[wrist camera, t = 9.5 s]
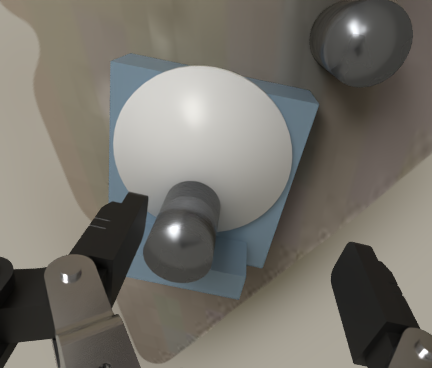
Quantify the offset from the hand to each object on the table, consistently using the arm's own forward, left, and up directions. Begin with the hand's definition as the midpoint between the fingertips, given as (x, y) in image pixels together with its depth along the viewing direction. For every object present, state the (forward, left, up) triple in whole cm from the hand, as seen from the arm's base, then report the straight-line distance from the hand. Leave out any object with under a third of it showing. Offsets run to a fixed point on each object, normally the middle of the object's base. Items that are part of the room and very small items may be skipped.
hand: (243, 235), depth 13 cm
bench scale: (+4, -3, -15) cm, 16 cm away
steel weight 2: (-7, +5, -15) cm, 18 cm away
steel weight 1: (+6, -3, -11) cm, 13 cm away
